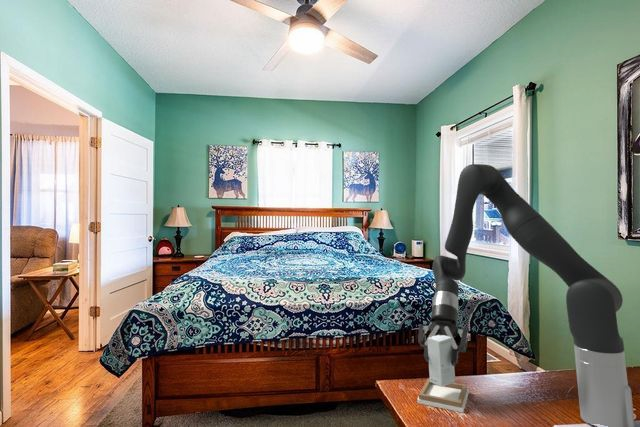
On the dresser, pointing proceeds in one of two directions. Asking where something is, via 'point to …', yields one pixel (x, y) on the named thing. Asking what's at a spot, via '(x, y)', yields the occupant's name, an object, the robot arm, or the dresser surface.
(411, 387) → the dresser surface
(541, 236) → the robot arm
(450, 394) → the tray
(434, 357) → the skincare box
